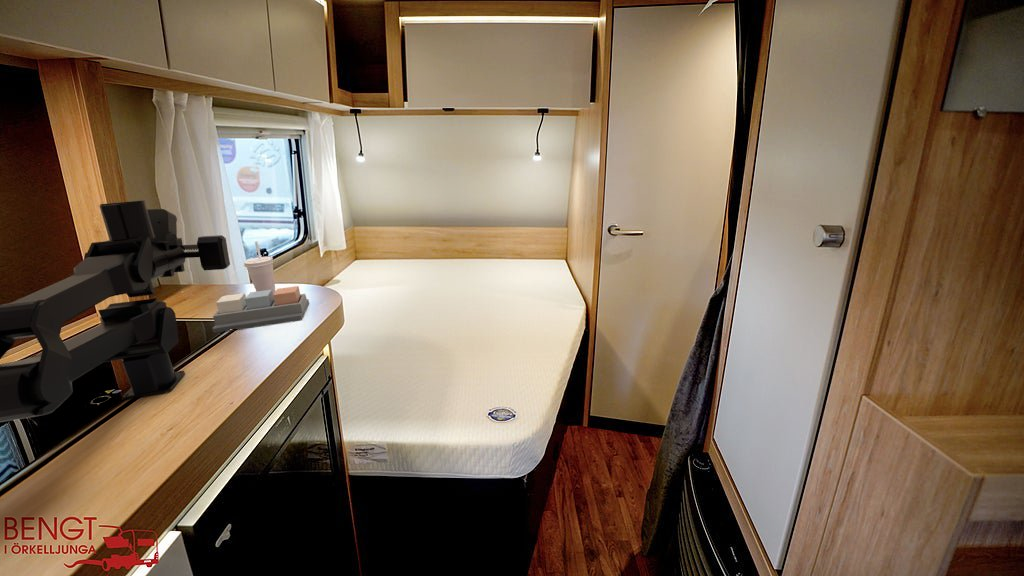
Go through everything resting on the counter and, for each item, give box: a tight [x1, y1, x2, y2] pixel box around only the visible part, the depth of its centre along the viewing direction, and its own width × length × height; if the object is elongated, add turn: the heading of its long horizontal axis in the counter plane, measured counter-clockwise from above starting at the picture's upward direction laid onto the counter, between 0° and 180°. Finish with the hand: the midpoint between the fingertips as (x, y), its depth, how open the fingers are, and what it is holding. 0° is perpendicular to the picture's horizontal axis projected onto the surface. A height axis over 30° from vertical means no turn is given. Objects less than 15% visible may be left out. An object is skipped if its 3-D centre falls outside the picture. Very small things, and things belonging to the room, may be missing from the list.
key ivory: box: [216, 292, 247, 314], centre depth 100 cm, size 4×4×2 cm
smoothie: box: [243, 241, 276, 294], centre depth 114 cm, size 6×6×14 cm
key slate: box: [245, 290, 274, 310], centre depth 101 cm, size 4×4×2 cm
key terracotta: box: [273, 285, 301, 306], centre depth 103 cm, size 4×4×2 cm
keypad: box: [212, 293, 310, 334], centre depth 102 cm, size 11×17×3 cm, turn 105°
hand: (189, 248), depth 94 cm, fingers open, 9 cm apart
